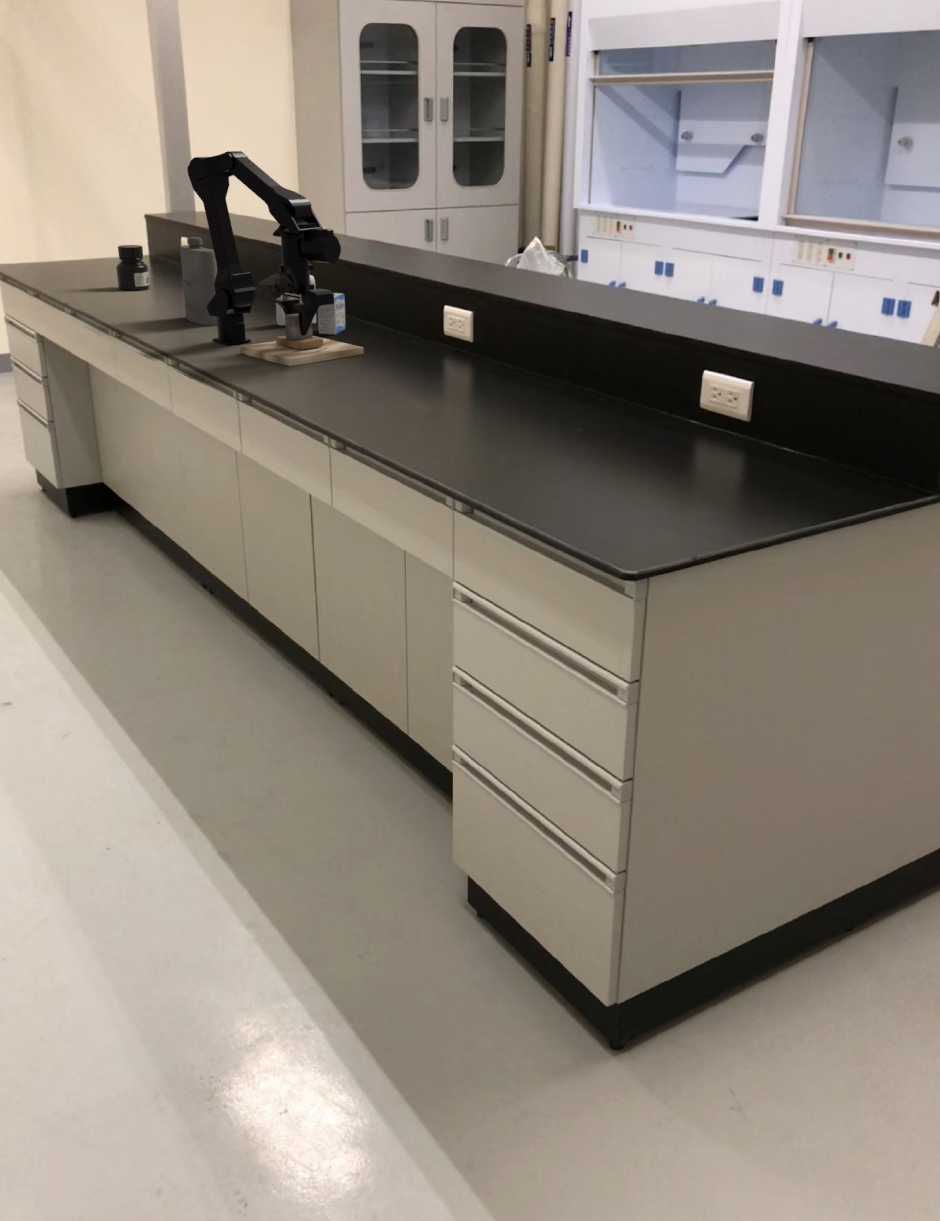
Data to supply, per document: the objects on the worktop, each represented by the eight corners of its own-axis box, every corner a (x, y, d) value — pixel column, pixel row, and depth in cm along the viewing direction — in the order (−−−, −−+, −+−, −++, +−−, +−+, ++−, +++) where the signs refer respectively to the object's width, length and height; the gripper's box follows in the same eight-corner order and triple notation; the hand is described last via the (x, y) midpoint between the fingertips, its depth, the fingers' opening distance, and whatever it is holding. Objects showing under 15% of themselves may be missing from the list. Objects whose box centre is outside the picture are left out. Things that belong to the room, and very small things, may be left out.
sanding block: (276, 343, 245) (274, 313, 242) (298, 340, 248) (296, 310, 246) (301, 349, 239) (299, 318, 236) (323, 346, 243) (322, 315, 240)
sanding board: (240, 353, 243) (239, 346, 242) (313, 342, 256) (312, 335, 255) (290, 366, 231) (289, 358, 231) (363, 354, 245) (363, 347, 244)
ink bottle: (144, 291, 322) (140, 248, 317) (114, 290, 322) (109, 247, 317) (153, 286, 331) (149, 244, 326) (124, 286, 331) (119, 243, 326)
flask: (180, 317, 283) (173, 234, 275) (202, 315, 286) (196, 234, 278) (200, 326, 272) (194, 240, 264) (223, 324, 275) (217, 239, 266)
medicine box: (335, 335, 265) (334, 297, 262) (318, 334, 266) (316, 296, 262) (345, 329, 272) (345, 293, 269) (328, 328, 273) (327, 292, 269)
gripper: (238, 258, 237) (243, 332, 243) (291, 266, 225) (295, 344, 231) (281, 254, 244) (284, 326, 251) (334, 262, 232) (337, 338, 239)
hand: (299, 334), depth 243 cm, fingers closed on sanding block, 3 cm apart
